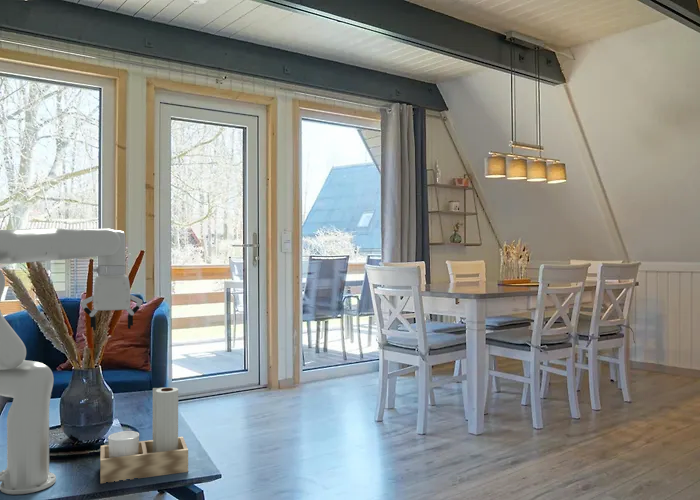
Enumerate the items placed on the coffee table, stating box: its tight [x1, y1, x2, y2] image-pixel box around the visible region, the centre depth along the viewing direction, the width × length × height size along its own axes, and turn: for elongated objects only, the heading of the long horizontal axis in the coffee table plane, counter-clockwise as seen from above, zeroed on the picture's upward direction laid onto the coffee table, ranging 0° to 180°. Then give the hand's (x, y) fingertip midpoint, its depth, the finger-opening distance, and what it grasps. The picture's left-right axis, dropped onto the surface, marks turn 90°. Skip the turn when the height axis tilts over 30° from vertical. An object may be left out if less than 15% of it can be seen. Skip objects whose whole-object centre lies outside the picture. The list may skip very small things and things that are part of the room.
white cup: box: [107, 430, 140, 458], centre depth 163 cm, size 8×8×10 cm
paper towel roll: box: [152, 386, 179, 453], centre depth 169 cm, size 7×6×21 cm
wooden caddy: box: [99, 436, 189, 484], centre depth 165 cm, size 22×12×6 cm, turn 112°
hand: (111, 329), depth 180 cm, fingers open, 9 cm apart
